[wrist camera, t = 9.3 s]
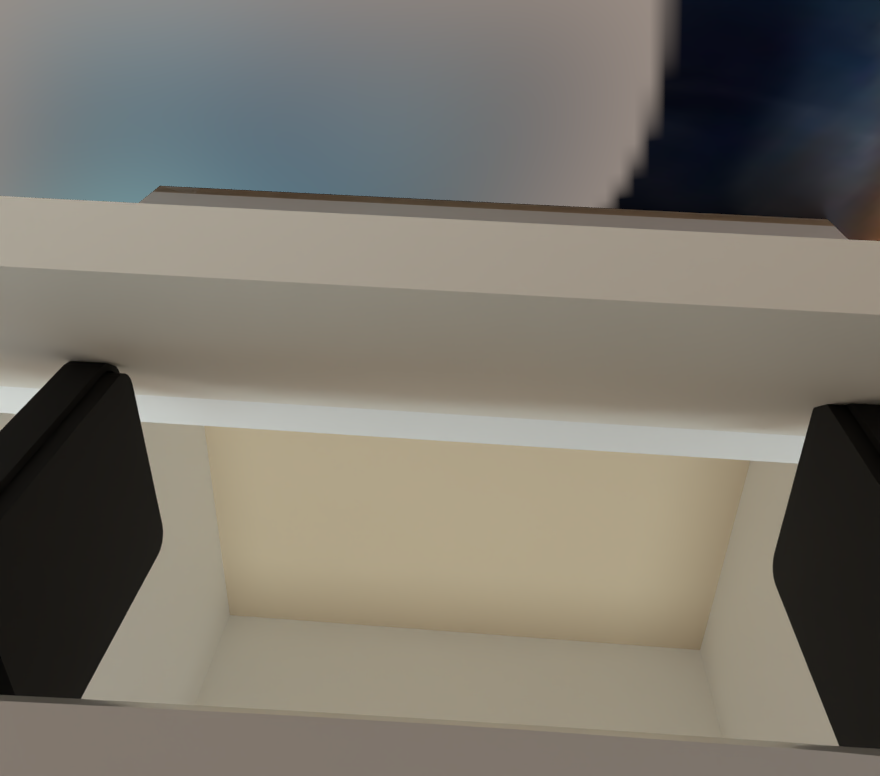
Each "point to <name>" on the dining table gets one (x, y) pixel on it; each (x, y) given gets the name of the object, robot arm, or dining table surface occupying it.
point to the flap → (442, 313)
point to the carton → (466, 549)
